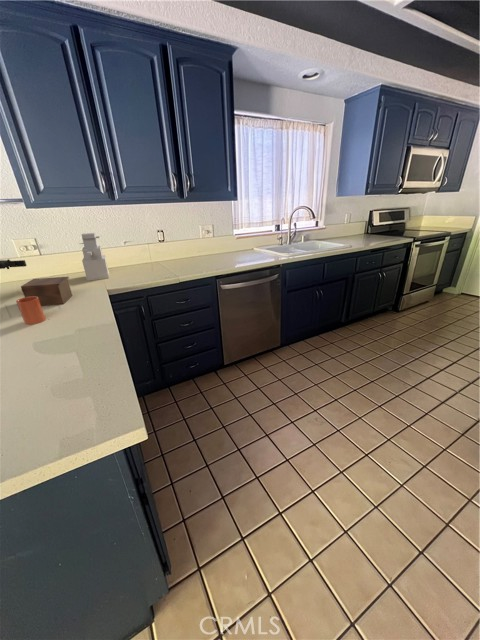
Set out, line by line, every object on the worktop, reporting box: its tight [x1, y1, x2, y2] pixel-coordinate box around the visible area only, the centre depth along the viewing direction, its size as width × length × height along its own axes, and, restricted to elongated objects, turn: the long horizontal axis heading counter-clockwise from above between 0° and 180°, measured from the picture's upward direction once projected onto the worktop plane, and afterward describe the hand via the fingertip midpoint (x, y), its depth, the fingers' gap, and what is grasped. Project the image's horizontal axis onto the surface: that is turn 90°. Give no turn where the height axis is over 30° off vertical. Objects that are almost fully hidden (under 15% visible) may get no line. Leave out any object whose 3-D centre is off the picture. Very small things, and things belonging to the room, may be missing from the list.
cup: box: [15, 296, 47, 326], centre depth 112 cm, size 7×7×10 cm
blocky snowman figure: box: [79, 232, 110, 282], centre depth 173 cm, size 13×24×28 cm, turn 24°
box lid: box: [20, 276, 70, 289], centre depth 133 cm, size 16×14×1 cm
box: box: [20, 278, 73, 307], centre depth 135 cm, size 16×14×10 cm
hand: (24, 263), depth 127 cm, fingers closed
